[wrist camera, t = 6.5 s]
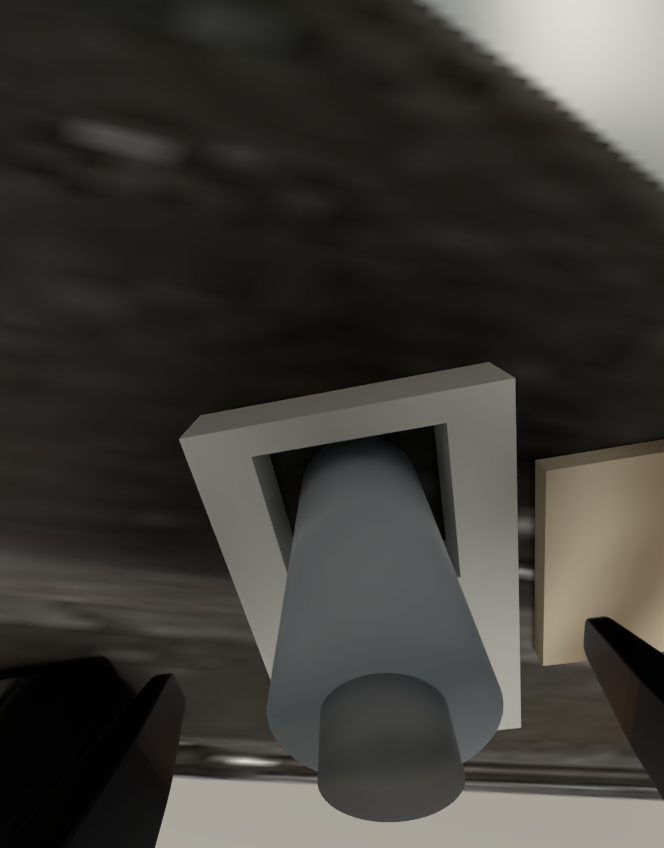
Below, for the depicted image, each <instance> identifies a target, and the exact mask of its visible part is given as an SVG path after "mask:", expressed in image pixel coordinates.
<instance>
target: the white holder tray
mask: <svg viewBox="0 0 664 848" xmlns="http://www.w3.org/2000/svg"><path fill="white" fill-rule="evenodd" d="M432 425H434V432H435V441H436V451H437V461H438V470H439V480H440V490H441V499H442V509H443V518H444V528H445V538H446V540H443V542H444V545H445V547H446V550H447V552H448V555H449V558H450V560H451V563H452V565H453V568H454V570H455V573H456V576H457V578H458V581H459V583H460V586H461V588H462V591H463V593H464V596H465V599H466V601H467V604H468V606H469V609H470V611H471V614H472V616H473V619H474V622H475V624H476V627H477V629H478V632H479V634H480V637H481V640H482V642H483V645H484V647H485V650H486V652H487V655H488V657H489V660H490V663H491V665H492V668H493V670H494V673H495V675H496V678H497V681H498V683H499V686H500V689H501V691H502V696H503V702H504V704H503V715H502V718H501V722H500V725H499V727H498V729H497V730H503V729H513V728H521V697H520V636H519V575H518V513H517V452H516V391H515V378H514V377H513V376H511V375H509V374H508V373H506V372H504V371H503V370H501V369H500V368H498V367H496V366H495V365H493V364H492V363H490V362H486V363H481V364H475V365H470V366H464V367H459V368H454V369H448V370H443V371H437V372H432V373H427V374H421V375H416V376H410V377H405V378H400V379H394V380H389V381H383V382H378V383H373V384H367V385H362V386H356V387H351V388H346V389H340V390H335V391H329V392H324V393H318V394H313V395H308V396H302V397H297V398H291V399H286V400H281V401H275V402H270V403H264V404H259V405H254V406H248V407H243V408H237V409H232V410H227V411H221V412H216V413H210V414H205V415H200V416H199V417H198V419H197V420H196V421H195V422H194V423H193V424H192V425H191V426H190V427H189V428H188V429H187V431H186V432H185V433H184V434H183V435H182V436H181V437H180V438H179V441H180V443H181V446H182V449H183V451H184V454H185V457H186V459H187V462H188V464H189V467H190V470H191V472H192V475H193V478H194V480H195V483H196V485H197V488H198V491H199V493H200V496H201V499H202V501H203V504H204V506H205V509H206V512H207V514H208V517H209V520H210V522H211V525H212V527H213V530H214V533H215V535H216V538H217V541H218V543H219V546H220V548H221V551H222V554H223V556H224V559H225V562H226V564H227V567H228V570H229V572H230V575H231V577H232V580H233V583H234V585H235V588H236V591H237V593H238V596H239V598H240V601H241V604H242V606H243V609H244V612H245V614H246V617H247V619H248V622H249V625H250V627H251V630H252V633H253V635H254V638H255V640H256V643H257V646H258V648H259V651H260V654H261V656H262V659H263V661H264V664H265V667H266V669H267V672H268V675H269V677H270V680H271V675H272V669H273V662H274V656H275V650H276V643H277V637H278V631H279V624H280V618H281V612H282V605H283V599H284V593H285V586H286V580H287V574H288V567H289V561H290V555H291V549H292V542H293V535H292V531H291V528H290V524H289V521H288V517H287V514H286V510H285V507H284V503H283V500H282V496H281V493H280V489H279V486H278V482H277V479H276V475H275V472H274V469H273V465H272V462H271V458H270V455H269V454H271V453H276V452H282V451H288V450H294V449H299V448H305V447H311V446H317V445H322V444H328V443H334V442H340V441H345V440H351V439H357V438H363V437H368V436H374V435H380V434H386V433H392V432H397V431H403V430H409V429H415V428H420V427H426V426H432Z"/></svg>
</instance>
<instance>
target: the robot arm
mask: <svg viewBox="0 0 664 848" xmlns="http://www.w3.org/2000/svg"><path fill="white" fill-rule="evenodd" d="M583 647H584V651H585V655H586V657H587V659H588V661H589V663H590V665H591V667H592V669H593V671H594V673H595V675H596V677H597V679H598V681H599V684H600V686H601V688H602V690H603V692H604V694H605V696H606V698H607V700H608V702H609V704H610V706H611V708H612V710H613V712H614V714H615V716H616V718H617V720H618V722H619V724H620V726H621V728H622V730H623V732H624V734H625V736H626V737H627V739H628V741H629V743H630V745H631V747H632V748H633V750H634V752H635V754H636V755H637V757H638V759H639V760H640V762H641V764H642V765H643V767H644V769H645V770H646V772H647V774H648V775H649V777H650V779H651V780H652V782H653V784H654V785H655V787H656V788H657V790H658V792H659V793H660V795H661V797H662V798H663V800H664V654H663V653H662V652H660V651H659V650H657V649H656V648H654V647H653V646H651V645H650V644H648V643H647V642H645V641H644V640H642V639H641V638H639V637H638V636H637V635H635V634H634V633H632V632H631V631H629V630H628V629H626V628H625V627H623V626H622V625H620V624H619V623H617V622H616V621H614V620H613V619H611V618H609V617H606V616H601V617H593V618H588V619H587V620H586V621H585V628H584V642H583ZM185 707H186V699H185V695H184V693H183V691H182V689H181V687H180V685H179V683H178V681H177V679H176V677H175V676H174V675H173V674H171V673H169V674H161V675H156V676H154V677H153V678H151V679H150V680H149V682H148V683H147V684H146V685H145V686H144V687H143V688H142V690H141V691H140V692H139V693H138V694H137V695H136V696H135V698H134V699H133V700H132V701H131V702H130V700H129V699H128V697H127V695H126V694H125V692H124V690H123V689H122V687H121V685H120V684H119V682H118V680H117V679H116V677H115V676H114V674H113V672H112V671H111V669H110V667H109V666H108V665H107V663H105V662H103V661H100V660H91V661H83V662H76V663H68V664H61V665H53V666H46V667H38V668H31V669H23V670H16V671H8V672H1V673H0V848H155V845H156V841H157V838H158V834H159V830H160V827H161V823H162V819H163V816H164V811H165V808H166V804H167V800H168V796H169V792H170V787H171V783H172V778H173V773H174V767H175V762H176V756H177V751H178V746H179V740H180V735H181V729H182V724H183V719H184V713H185Z"/></svg>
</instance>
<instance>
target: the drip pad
mask: <svg viewBox="0 0 664 848" xmlns="http://www.w3.org/2000/svg"><path fill="white" fill-rule="evenodd" d="M601 616H606V617H609V618H611V619H613V620H614V621H616V622H617V623H619V624H620V625H622V626H623V627H625V628H626V629H628V630H629V631H631V632H632V633H634V634H635V635H637V636H638V637H639V638H641V639H642V640H644V641H645V642H647V643H648V644H650V645H651V646H653V647H654V648H656V649H657V650H659V651H660V652H664V439H662V440H656V441H650V442H644V443H638V444H632V445H626V446H619V447H613V448H607V449H601V450H595V451H589V452H583V453H576V454H570V455H564V456H558V457H552V458H546V459H540V460H535V631H534V649H535V651H536V653H537V655H538V657H539V659H540V661H541V663H542V665H543V666H547V665H555V664H564V663H572V662H580V661H588V659H587V657H586V655H585V651H584V647H583V642H584V628H585V621H586V620H587V619H588V618H593V617H601Z"/></svg>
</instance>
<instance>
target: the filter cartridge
mask: <svg viewBox="0 0 664 848" xmlns="http://www.w3.org/2000/svg"><path fill="white" fill-rule="evenodd" d="M503 704H504V702H503V696H502V691H501V689H500V686H499V683H498V681H497V678H496V675H495V673H494V670H493V668H492V665H491V663H490V660H489V657H488V655H487V652H486V650H485V647H484V645H483V642H482V640H481V637H480V634H479V632H478V629H477V627H476V624H475V622H474V619H473V616H472V614H471V611H470V609H469V606H468V604H467V601H466V599H465V596H464V593H463V591H462V588H461V586H460V583H459V581H458V578H457V576H456V573H455V570H454V568H453V565H452V563H451V560H450V558H449V555H448V552H447V550H446V547H445V545H444V542H443V540H442V537H441V535H440V532H439V529H438V527H437V524H436V522H435V519H434V517H433V514H432V511H431V509H430V506H429V504H428V501H427V499H426V496H425V494H424V491H423V488H422V486H421V483H420V481H419V478H418V476H417V473H416V471H415V468H414V466H413V464H412V462H411V460H410V459H409V458H408V456H407V455H406V454H405V453H404V452H403V451H402V450H401V449H400V448H398V447H397V446H396V445H394V444H392V443H390V442H389V441H386V440H383V439H381V438H377V437H372V436H368V437H363V438H357V439H351V440H345V441H340V442H334V443H330V444H328V445H326V446H325V447H323V448H322V449H321V450H319V451H318V452H317V453H316V454H315V455H314V456H313V458H312V459H311V460H310V462H309V463H308V465H307V467H306V469H305V471H304V475H303V479H302V485H301V492H300V498H299V504H298V511H297V517H296V523H295V530H294V536H293V542H292V549H291V555H290V561H289V567H288V574H287V580H286V586H285V593H284V599H283V605H282V612H281V618H280V624H279V631H278V637H277V643H276V650H275V656H274V662H273V669H272V675H271V681H270V688H269V694H268V701H267V710H266V711H267V720H268V724H269V727H270V730H271V732H272V734H273V736H274V738H275V739H276V740H277V742H278V743H279V744H280V746H281V747H282V748H283V749H284V750H285V751H286V752H287V753H288V754H289V755H291V756H292V757H293V758H294V759H296V760H297V761H299V762H300V763H302V764H304V765H305V766H307V767H309V768H311V769H313V770H315V771H318V788H319V791H320V793H321V795H322V796H323V797H324V799H325V800H326V801H327V802H328V803H329V804H330V805H331V806H333V807H334V808H335V809H337V810H339V811H341V812H343V813H345V814H347V815H350V816H353V817H356V818H359V819H364V820H370V821H377V822H401V821H409V820H414V819H418V818H422V817H426V816H429V815H431V814H434V813H436V812H438V811H440V810H442V809H444V808H445V807H447V806H448V805H450V804H451V803H452V802H454V801H455V799H457V797H458V796H459V795H460V793H461V792H462V790H463V788H464V785H465V772H464V768H463V764H462V763H464V762H465V761H467V760H468V759H470V758H472V757H473V756H474V755H475V754H477V753H478V752H479V751H480V750H482V749H483V748H484V746H485V745H486V744H487V743H488V742H489V741H490V740H491V738H492V737H493V736H494V734H495V733H496V731H497V729H498V727H499V725H500V722H501V718H502V715H503Z"/></svg>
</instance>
